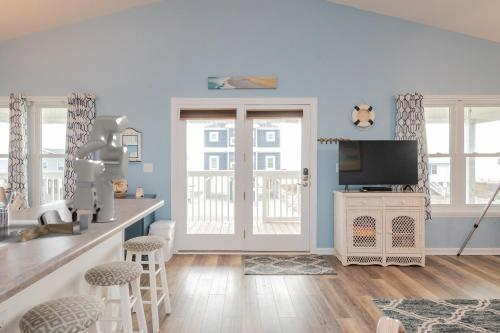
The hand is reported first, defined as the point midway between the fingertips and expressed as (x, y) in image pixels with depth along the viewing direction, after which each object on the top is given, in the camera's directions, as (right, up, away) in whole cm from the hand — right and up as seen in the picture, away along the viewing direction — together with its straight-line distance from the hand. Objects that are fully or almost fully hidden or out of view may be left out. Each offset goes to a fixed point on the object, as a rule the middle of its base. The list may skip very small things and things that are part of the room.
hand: (84, 221), depth 158 cm
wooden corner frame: (-10, -5, -12) cm, 16 cm away
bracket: (0, -5, -1) cm, 5 cm away
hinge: (-19, -5, +6) cm, 20 cm away
